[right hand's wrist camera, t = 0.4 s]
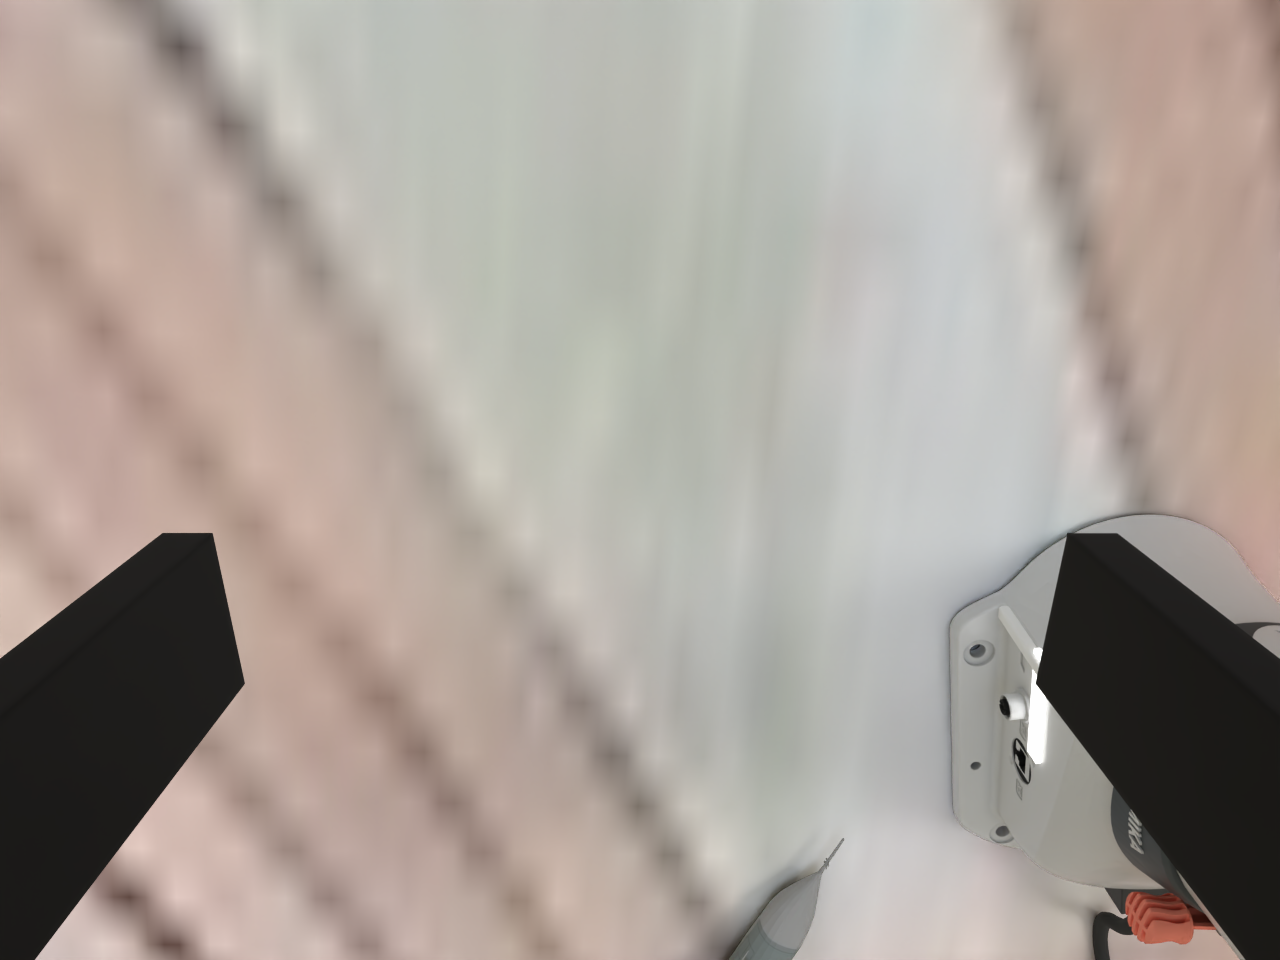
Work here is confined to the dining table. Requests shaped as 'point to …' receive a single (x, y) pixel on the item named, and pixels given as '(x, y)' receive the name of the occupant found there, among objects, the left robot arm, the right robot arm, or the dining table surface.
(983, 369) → the dining table surface
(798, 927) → the airplane
